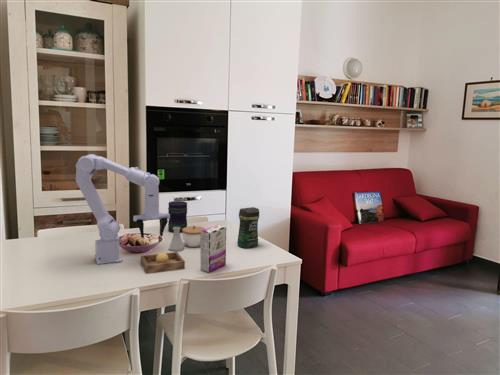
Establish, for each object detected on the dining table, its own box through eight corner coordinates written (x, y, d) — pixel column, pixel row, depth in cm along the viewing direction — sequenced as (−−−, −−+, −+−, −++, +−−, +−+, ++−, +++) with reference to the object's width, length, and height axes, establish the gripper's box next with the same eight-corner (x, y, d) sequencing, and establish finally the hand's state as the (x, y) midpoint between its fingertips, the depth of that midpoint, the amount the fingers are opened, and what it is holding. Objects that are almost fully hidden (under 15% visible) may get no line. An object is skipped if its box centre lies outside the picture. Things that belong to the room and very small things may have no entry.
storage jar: (185, 233, 204) (185, 205, 201) (166, 232, 204) (166, 204, 202) (188, 228, 214) (188, 201, 211) (170, 227, 214) (170, 200, 211)
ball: (157, 268, 156) (157, 256, 155) (154, 263, 160) (154, 252, 159) (170, 265, 158) (169, 254, 157) (166, 261, 162) (166, 250, 161)
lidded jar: (177, 246, 183) (177, 226, 182) (189, 240, 193) (189, 221, 191) (198, 250, 179) (198, 230, 178) (209, 243, 189) (209, 224, 187)
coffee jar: (244, 249, 182) (245, 210, 179) (234, 245, 188) (236, 207, 185) (260, 246, 188) (262, 208, 185) (251, 242, 194) (252, 205, 191)
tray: (146, 273, 150) (146, 265, 150) (140, 262, 161) (140, 255, 160) (184, 268, 157) (184, 261, 156) (177, 258, 167) (177, 251, 167)
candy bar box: (216, 262, 165) (217, 224, 162) (226, 264, 162) (227, 226, 160) (199, 270, 156) (199, 230, 153) (209, 273, 153) (210, 232, 150)
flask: (181, 252, 175) (181, 230, 174) (165, 250, 177) (165, 229, 175) (186, 247, 182) (187, 226, 181) (172, 245, 184) (172, 225, 182)
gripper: (135, 207, 155) (135, 241, 157) (171, 205, 161) (171, 237, 163) (132, 203, 161) (132, 236, 163) (167, 202, 167) (167, 233, 169)
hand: (151, 236), depth 164 cm, fingers open, 7 cm apart
